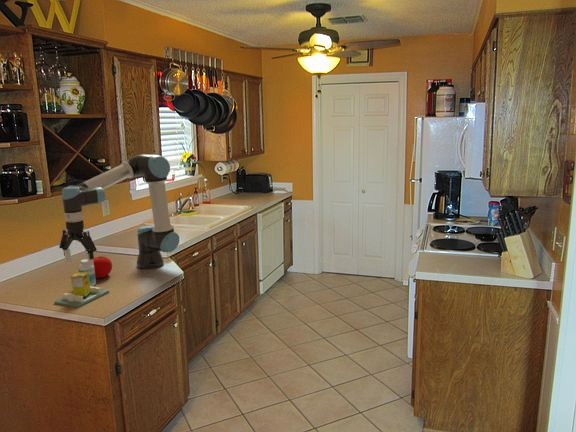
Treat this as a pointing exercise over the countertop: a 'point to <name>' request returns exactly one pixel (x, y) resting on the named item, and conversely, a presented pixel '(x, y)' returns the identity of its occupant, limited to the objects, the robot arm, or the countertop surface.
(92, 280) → the pill bottle
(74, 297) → the board
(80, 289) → the supplement box
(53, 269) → the countertop surface
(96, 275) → the tomato
